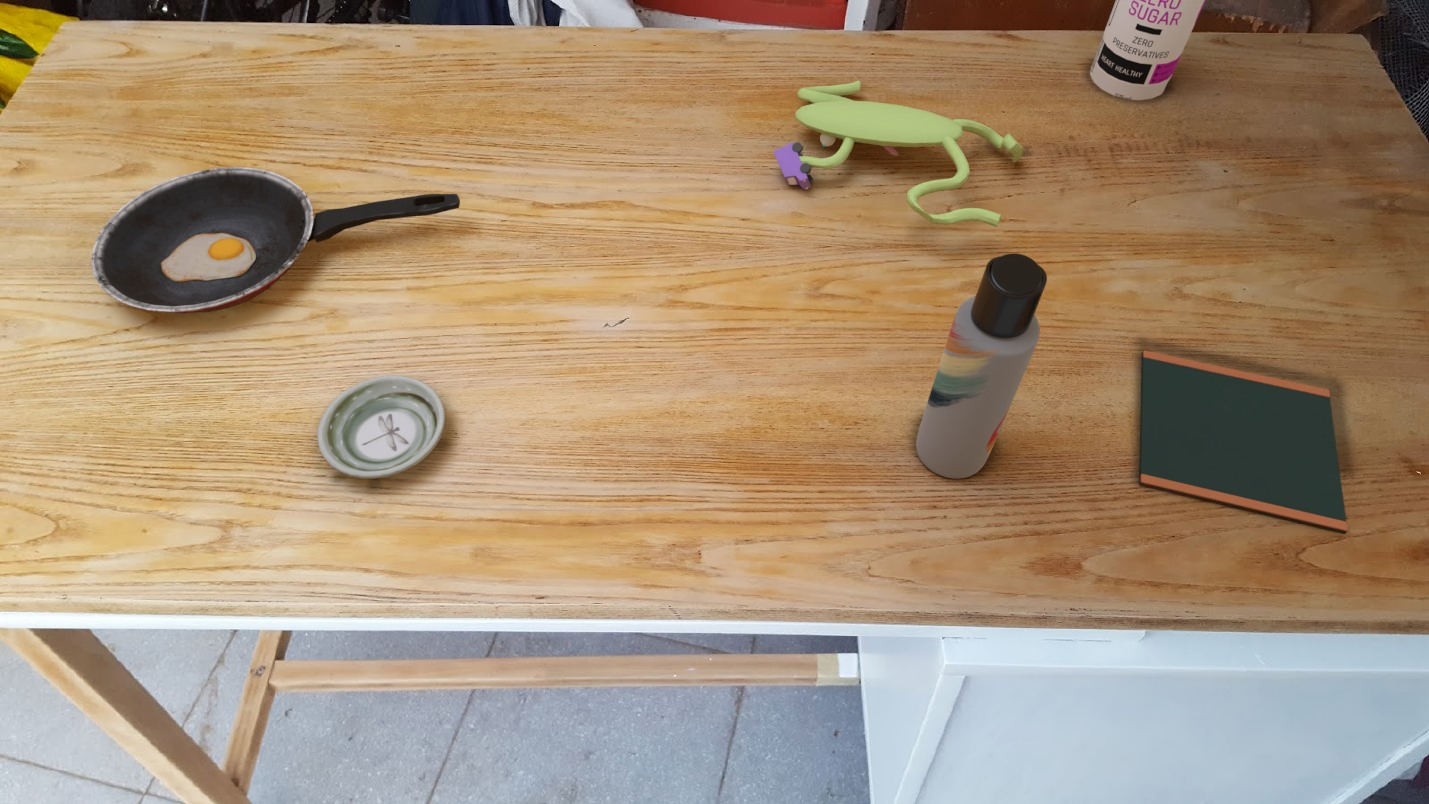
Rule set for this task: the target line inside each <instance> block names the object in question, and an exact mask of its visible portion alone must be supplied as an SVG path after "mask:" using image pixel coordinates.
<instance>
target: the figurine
mask: <svg viewBox="0 0 1429 804" xmlns="http://www.w3.org/2000/svg"><path fill="white" fill-rule="evenodd" d="M860 91H861V80H860V79H858V80H856V81H854V82H850V83H843V84H842V83H841V84H833V85H817V86H808V87H807V86H806V87H805V86H804V87H801V88H799V89H798V91H797V94H796V95H797V99H799V100H801V101H805V102H808V103H809V102H810V103H811V104H807V105H802V106H801V107H800V108H799V109H797V110H796V111H795V112H794V115H795V120H796V121H797V122H799V123H800V124H802V125H803V126H804V127H806V128H807V129H810V130H812V131H815V132H817V133H820V136H819V140H820V141H819V142H820V143H821V146H822V147H823V148H826V147H831V146H833V145H834V143H835V142H836V139H839V140H842V143H841V145H840V147H839V148H838V151H837V152H835V154H832V155H831V156H828V157H823V158H822V157H813V156H807V155H804V154H803V153H802V152H803V150H804V146H803V144H802V143H801V142H799V141H797V142H791V143H789V144H786V145H784V146H782V147H779V148H777V149H775V150H773V151H772V153H773V155H774V157H775V159H776V161H777V163H778V166H779V168H780V170H781V172H782V175H783V177H784V179H785V182H786V183H787V185H788V186H800V188H802V190H804V191H806V190H809V189H812V186H811V185H812V184H813V183H814V177H813V176H812V175H811V174H810V173H811V171H812V168H817V169H827V170H828V169H833V168H837V167H839V166H841V165H842V164H843V163H845V161H846V160H847V159H848V157H849V156H850V154H851V153H852V151H853V148H854V145H855V143H861V144H866V145H867V144H868V145H876V146H881V147H883V148H884V149H885V150H886V151H887V152H888V153H889V154H891V155H893V156H896V157H897V156H899V152H898V151H897V150H896V149H894V147H900V148H901V147H902V148H918V147H919V148H920V147H937V146H942V147H943V149H944V150H945V151H946V152H947V154H948V156H949V157H950V159H951V160H952V162H953V164H954V166H955V168H956V173H955V175H953V176H952V177H951V178H941V179H934V180H929V181H925V182H922V183H919V184H917V185H914V186H912V187H911V188H910V189H909V190H907V192H906V203H907V204H908V206H909V207H910V208H911V209H912V210H913V211H914V212H916V213H917V214H918V215H920V216H921V217H923V218H924V219H926V220H927V221H928V222H930V223H931V224H934V225H943V226H947V225H948V226H949V225H956V224H958V223H964V222H980V223H983V224H987V225H990V226H992V227H995V228H998V227H999V224H1000V222H1001V219H1002V214H1000V213H997V212H994V211H992V210H988V209H984V208H980V207H964V208H958V209H954V210H952V211H950V212H945V213H940V214H932V213H927V212H926V210H924V209H922V207H921V206H920V205H919V204H918V200H919V199H920V198H921V197H924V196H926V195H929V194H933V193H938V192H944V191H951V190H955V189H959V188H960V187H961V186H962V185H963V184H964V183H966V182H967V180H968V179H969V177H970V175H971V171H970V164H969V161H968V160H967V158H966V156H965V154H964V152H963V150H962V148H961V147H960V146H959V144H958V143H957V141H958V140H960V139H961V138H962V137H963V136H964V135H965V133H964V132H968V133H971V134H973V135H977V136H979V137H981V138H982V139H984V140H985V141H987V142H988V143H989V144H990V145H992V146H993V147H994V148H996V149H997V150H1005V149H1006V151H1007V152H1009V153H1010V154H1011V156H1012V163H1016V162H1017V161H1019V160H1020V159H1021V157H1022V156H1023V153H1024V147H1023V146H1022V145H1021V144H1020V143H1018V141H1017V140H1016V139H1015V138H1014V137H1013V136H1012V134H1011V133H1007V134H1006V135H1004V137H1003V136H1001V135H1000V134H999V133H997V132H996V131H995V130H994V129H992V128H990V127H989V126H987V125H986V124H983V123H981V122H977V121H975V120H971V119H967V118H966V119H965V118H954V119H951V118H949V117H945V116H943V115H940V114H937V113H934V112H931V111H929V110H924V109H919V108H916V107H911V106H906V105H902V104H895V103H886V102H878V101H870V100H869V101H867V100H853V99H850V98H847V97H844V96H848V95H854V94H856V93H858V92H860Z"/></svg>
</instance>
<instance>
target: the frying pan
mask: <svg viewBox="0 0 1429 804" xmlns="http://www.w3.org/2000/svg"><path fill="white" fill-rule="evenodd" d="M460 204H461V199H460V196H459V195H458V194H457V193H425V194H418V195H413V196H412V195H411V196H406V197H398V198H392V199H385V200H378V201H373V202H367V203H362V204H357V205H351V206H347V207H340V208H329V209H328V208H327V209H324V210H321V211H318V212H316V213H315V215H314V209H313V206H312V203H311V201H310V199H309V196H308V195H307V193H305V191H304V190H303V189H302V188H301V187H300V186H299V185H298V184H296V183H295V182H293V181H292V180H291V179H289V178H287V177H286V176H283V175H280V174H278V173H276V172H273V171H269V170H265V169H260V168H255V167H244V166H243V167H241V166H229V167H215V168H208V169H203V170H198V171H197V170H196V171H193V172H189V173H186V174H183V175H180V176H176V177H173V178H170V179H168V180H166V181H164V182H161V183H159V184H156V185H154V186H152V187H151V188H149V189H147V190H145V191H144V192H141V193H140V194H138V195H137V196H135V197H134V198H132V199H131V200H129V201H128V202H127V203H125V204H124V205H122V206H121V207H120V208H119V209H118V210H117V211H116V212H115V213H114V214H113V215H112V216H111V217H110V218H109V219H108V220H107V222H106V223H105V224H104V226H103V227H102V229H101V230H100V232H99V233H98V235H97V237H96V240H95V241H94V244H93V247H92V252H91V260H90V264H91V268H92V273H93V277H94V279H95V280H96V282H97V283H98V285H99V286H100V288H101V289H102V290H103V291H104V292H105V293H107V294H108V295H109V296H110V297H112V298H113V299H115V300H116V301H119V302H121V303H123V304H125V305H127V306H130V307H133V308H138V309H142V310H146V311H151V312H160V313H161V312H162V313H171V314H180V315H183V314H184V315H185V314H186V315H187V314H198V313H199V314H200V313H210V312H211V313H212V312H215V311H221V310H225V309H229V308H232V307H234V306H238V305H241V304H243V303H245V302H247V301H249V300H252V299H254V298H255V297H258V296H259V295H261V294H262V293H263V292H265V291H267V290H268V289H269V288H271V287H272V286H273V285H274V284H276V282H278V281H279V280H280V279H281V278H282V277H283V276H284V275H285V274H287V272H288V271H289V270H290V268H291V267H292V266H293V265H294V264H295V262H296V261H297V260H298V258H299V257H300V255H301V254H302V252H303V251H304V249H305V247H306V245H307V243H308V242H311V241H315V242H316V243H320V242H323V241H326V240H329V239H331V238H332V237H334V236H336V235H338V234H340V233H342V232H343V231H345V230H348V229H351V228H356V227H358V226H362V225H366V224H369V223H372V222H376V221H383V220H384V221H385V220H393V219H395V220H396V219H404V218H412V217H413V218H414V217H424V216H426V217H427V216H431V215H437V214H440V213H444V212H449V211H452V210H455V209H459V208H460V206H461V205H460Z"/></svg>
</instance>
